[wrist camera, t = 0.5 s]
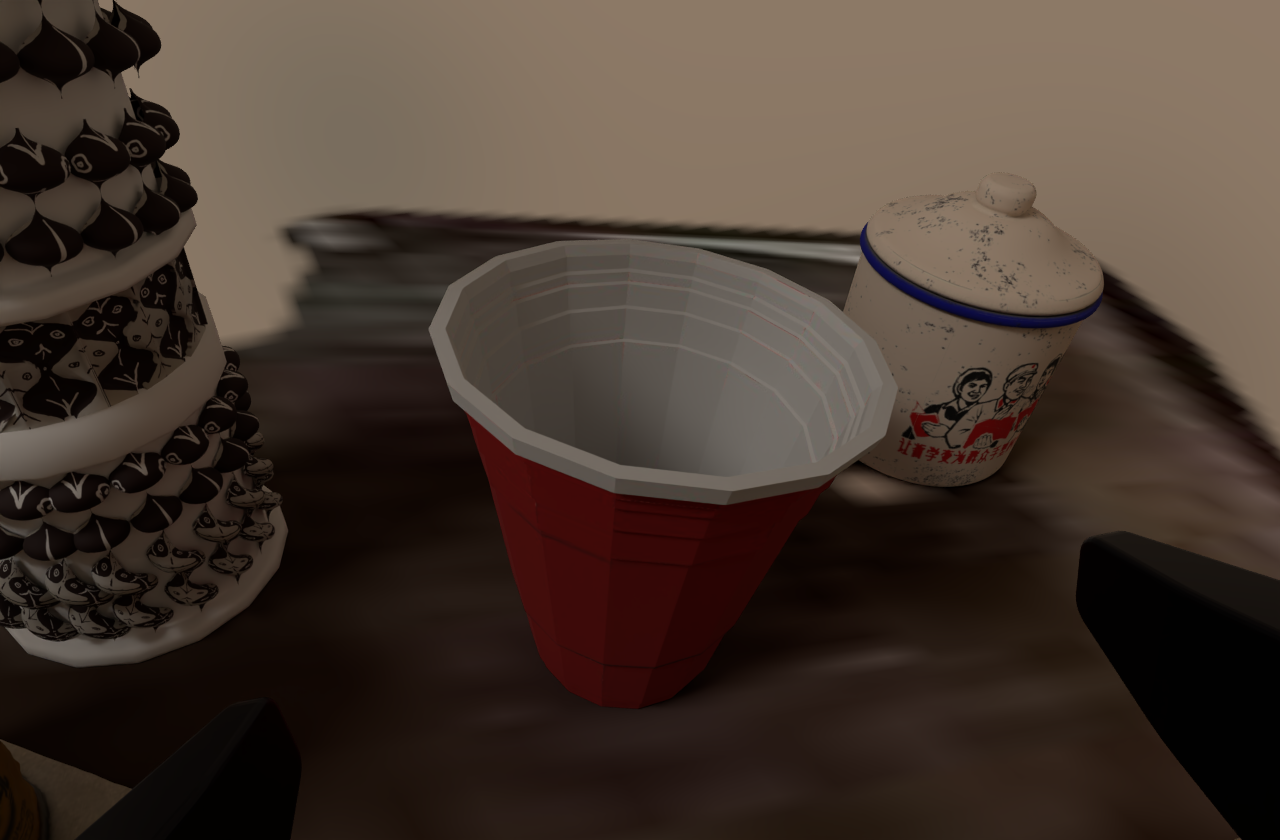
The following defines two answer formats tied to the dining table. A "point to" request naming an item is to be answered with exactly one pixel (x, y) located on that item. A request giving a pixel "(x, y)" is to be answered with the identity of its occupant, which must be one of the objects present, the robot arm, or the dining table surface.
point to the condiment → (49, 796)
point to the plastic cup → (651, 441)
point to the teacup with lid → (967, 322)
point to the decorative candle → (112, 365)
